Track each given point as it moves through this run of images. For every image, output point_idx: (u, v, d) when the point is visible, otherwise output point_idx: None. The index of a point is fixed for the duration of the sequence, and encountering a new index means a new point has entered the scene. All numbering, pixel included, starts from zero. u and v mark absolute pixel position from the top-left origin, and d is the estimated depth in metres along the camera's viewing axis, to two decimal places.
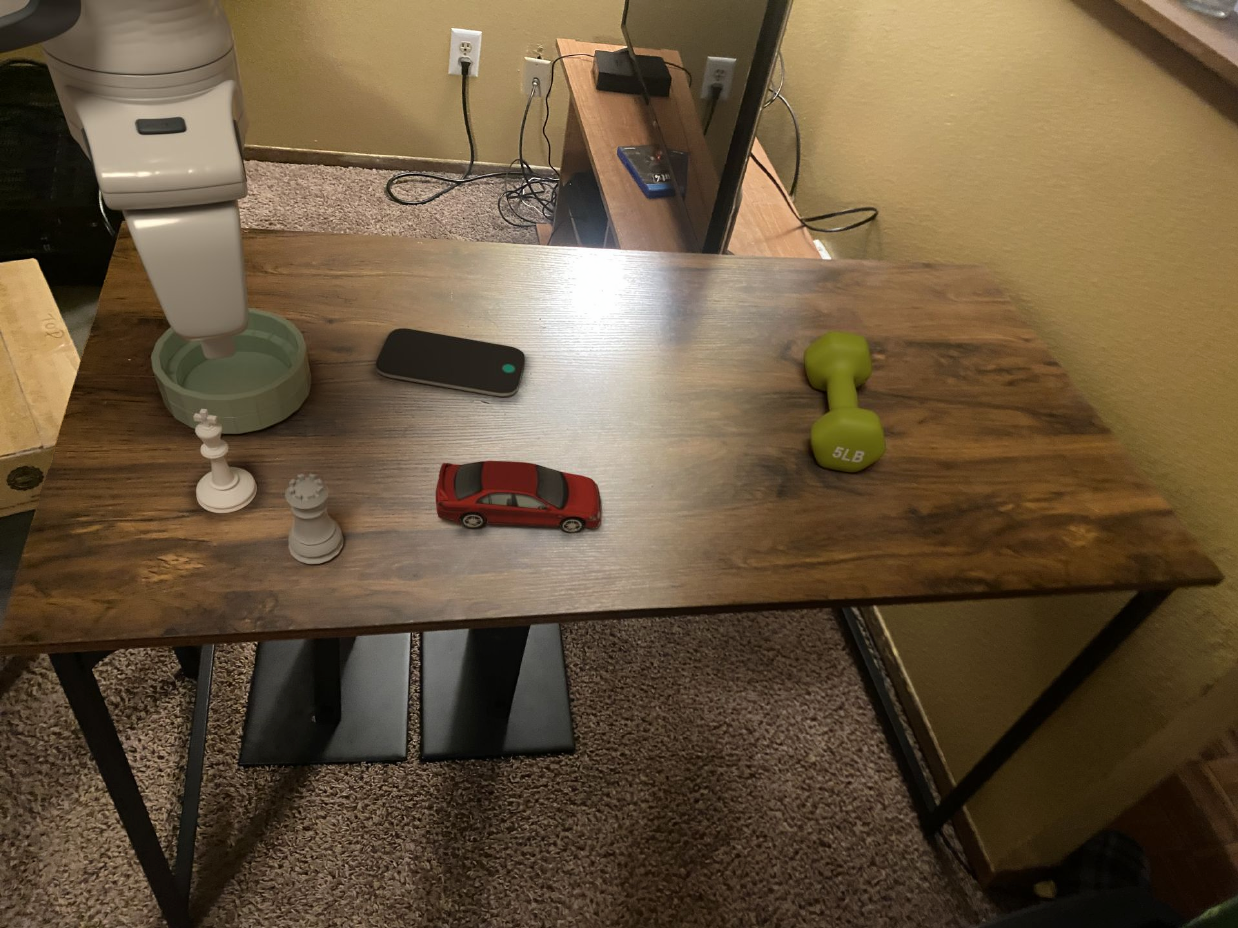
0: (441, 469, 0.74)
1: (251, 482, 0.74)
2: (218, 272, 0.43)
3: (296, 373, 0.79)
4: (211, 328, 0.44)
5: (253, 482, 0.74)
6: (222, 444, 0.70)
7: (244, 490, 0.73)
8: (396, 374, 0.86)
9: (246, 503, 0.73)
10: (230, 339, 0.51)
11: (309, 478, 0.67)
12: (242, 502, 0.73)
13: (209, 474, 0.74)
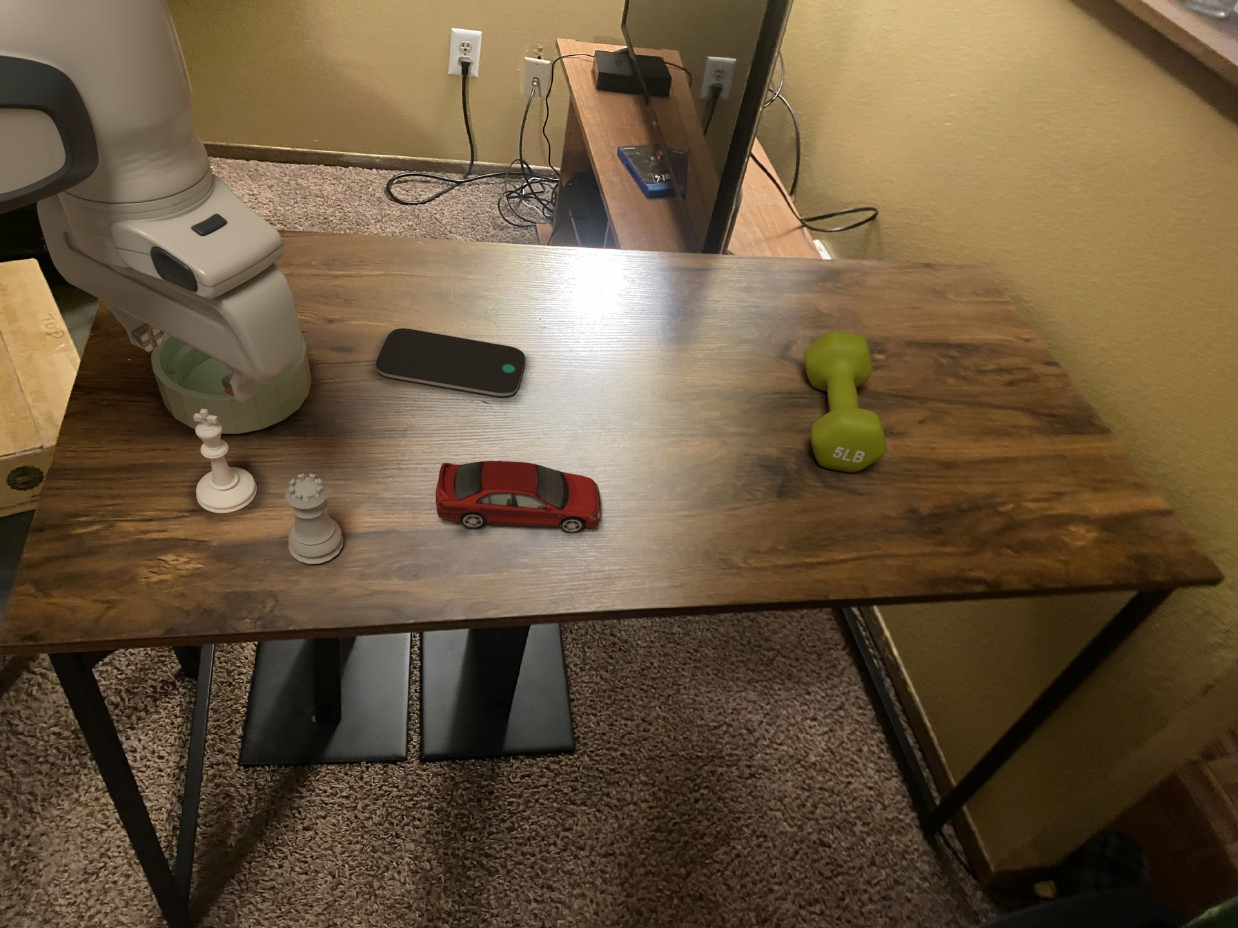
0: (441, 469, 0.74)
1: (251, 482, 0.74)
2: (285, 317, 0.56)
3: (296, 373, 0.79)
4: (285, 363, 0.57)
5: (253, 482, 0.74)
6: (222, 444, 0.70)
7: (244, 490, 0.73)
8: (396, 374, 0.86)
9: (246, 503, 0.73)
10: (254, 379, 0.62)
11: (309, 478, 0.67)
12: (242, 502, 0.73)
13: (209, 474, 0.74)
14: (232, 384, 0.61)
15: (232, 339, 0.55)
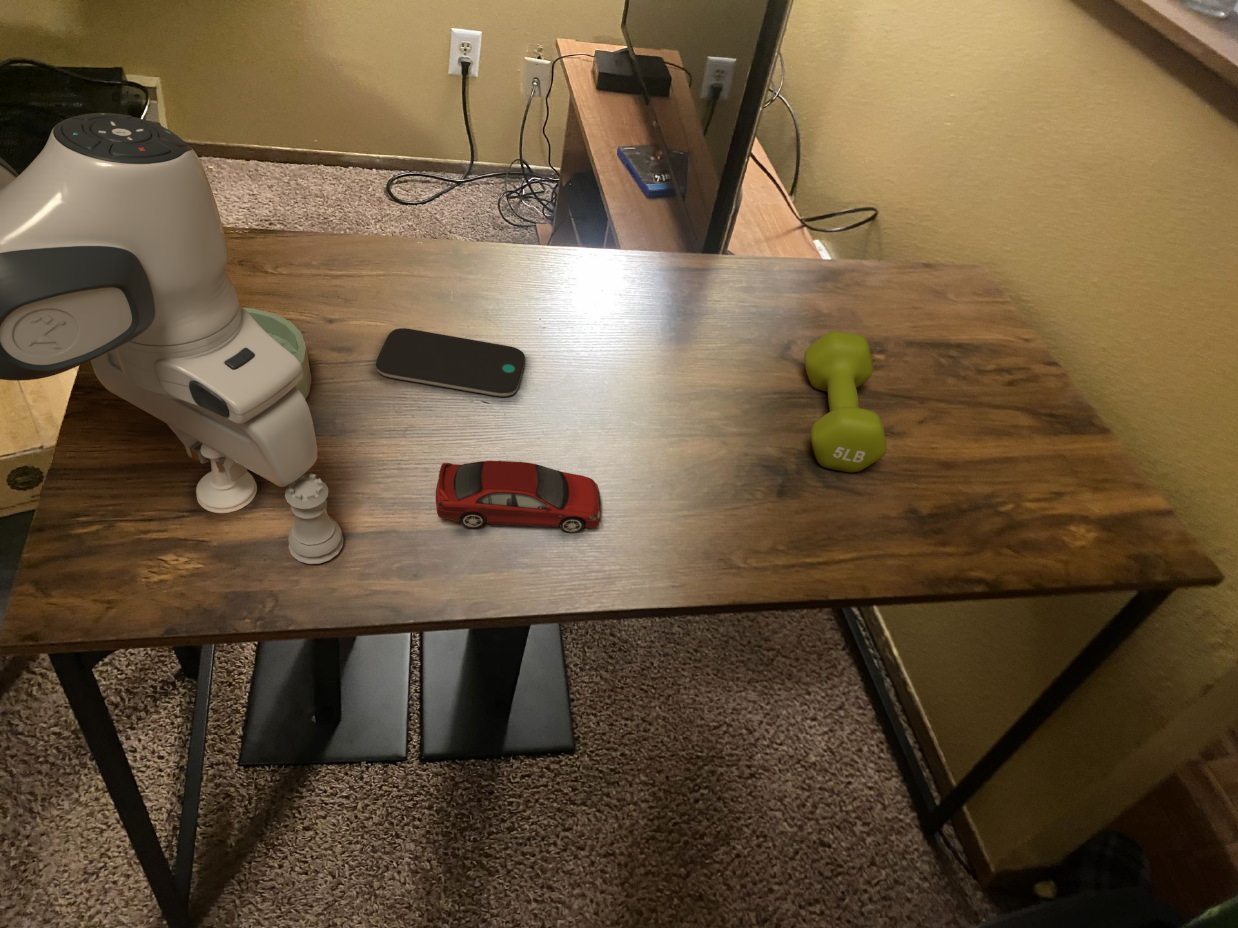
0: (441, 469, 0.74)
1: (251, 482, 0.74)
2: (303, 432, 0.63)
3: None
4: (302, 469, 0.65)
5: (253, 482, 0.74)
6: None
7: (244, 490, 0.73)
8: (396, 374, 0.86)
9: (246, 503, 0.73)
10: None
11: (309, 478, 0.67)
12: (242, 502, 0.73)
13: (209, 474, 0.74)
14: (225, 466, 0.69)
15: (257, 451, 0.63)
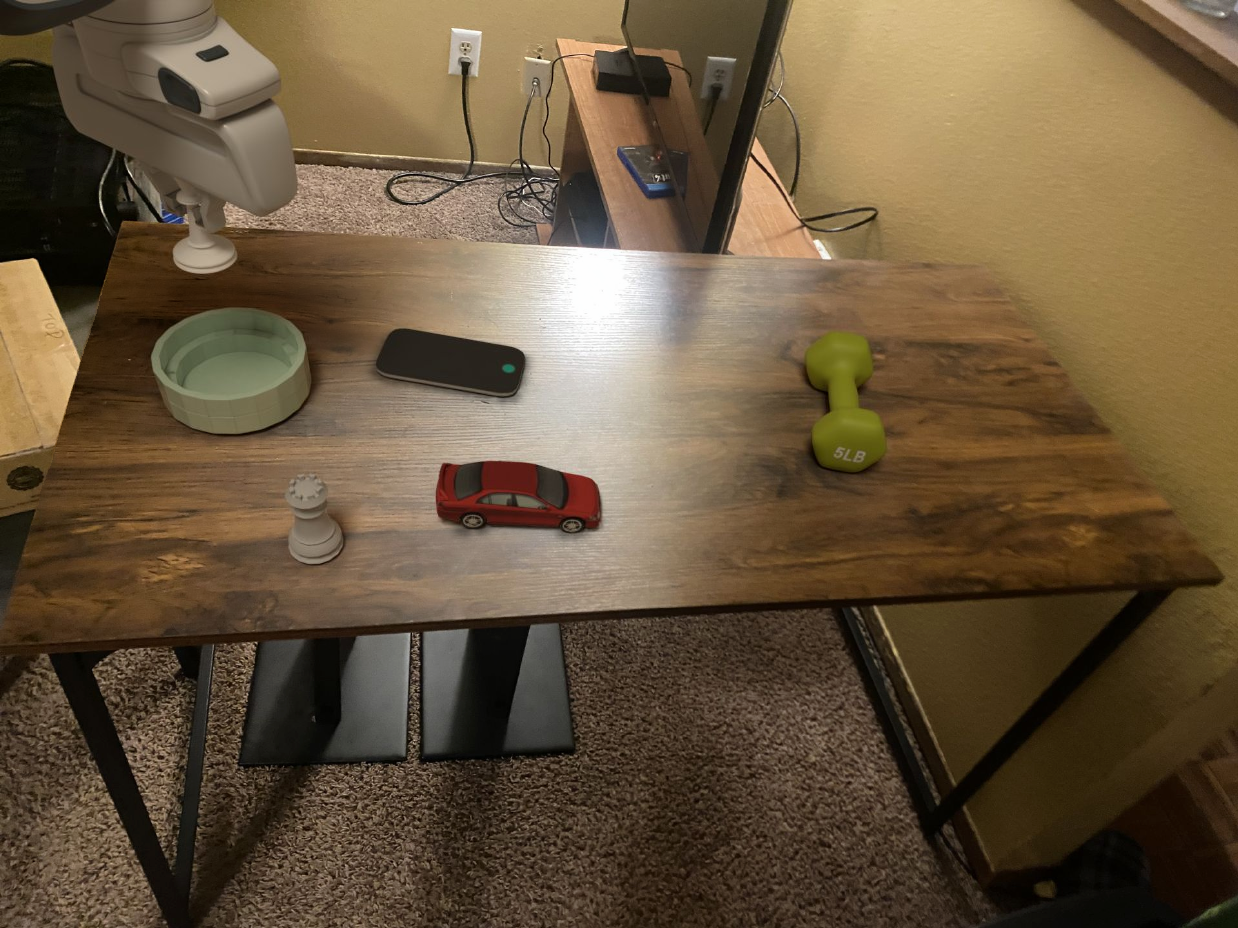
0: (441, 469, 0.74)
1: (231, 247, 0.71)
2: (282, 152, 0.60)
3: (296, 373, 0.79)
4: (281, 199, 0.61)
5: (233, 247, 0.71)
6: None
7: (223, 252, 0.70)
8: (396, 374, 0.86)
9: (225, 266, 0.70)
10: (223, 212, 0.67)
11: (309, 478, 0.67)
12: (221, 264, 0.69)
13: (187, 238, 0.70)
14: (202, 213, 0.65)
15: (232, 170, 0.59)
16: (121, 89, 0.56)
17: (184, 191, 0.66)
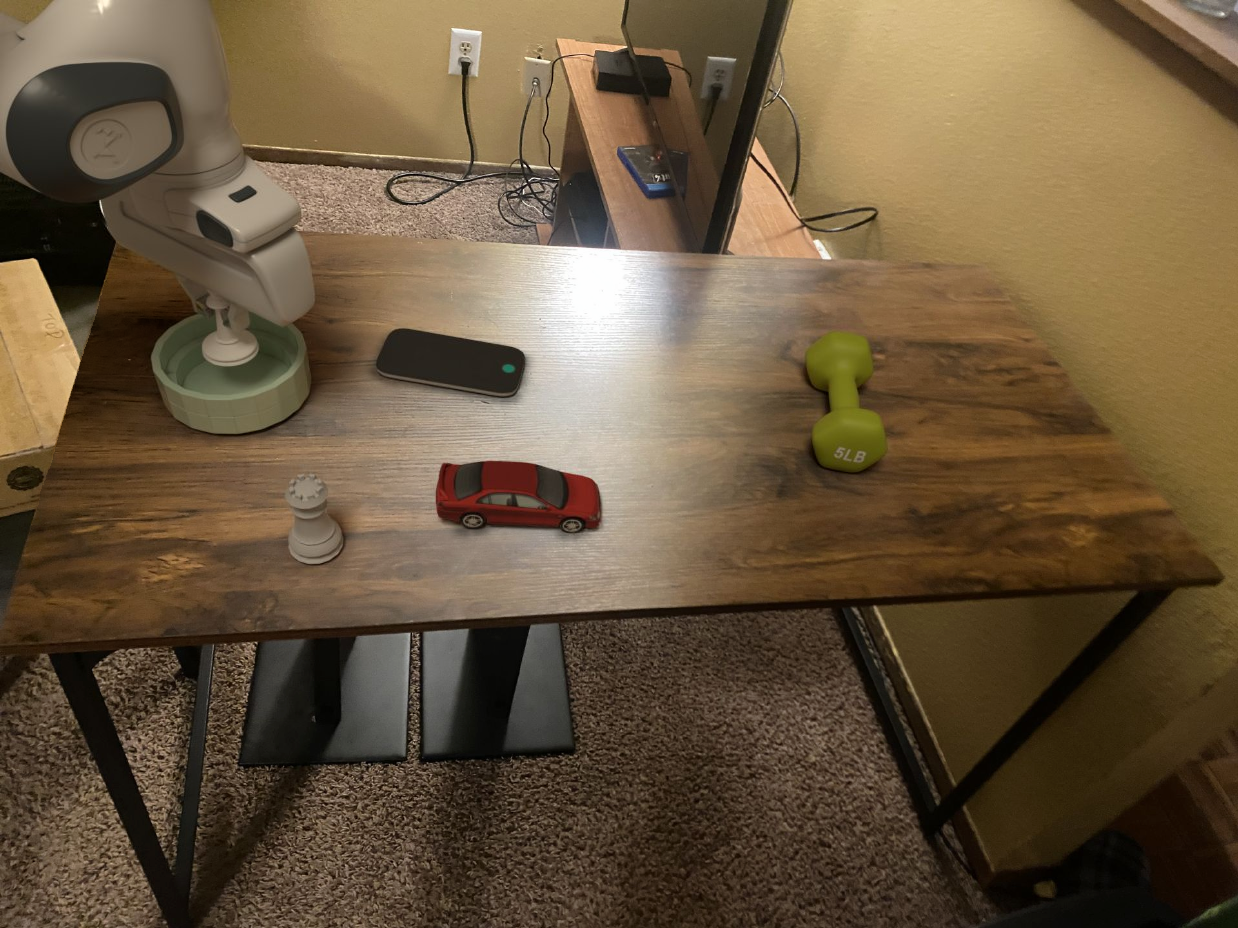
0: (441, 469, 0.74)
1: (253, 340, 0.79)
2: (301, 272, 0.68)
3: (296, 373, 0.79)
4: (301, 310, 0.70)
5: (255, 341, 0.79)
6: None
7: (246, 346, 0.78)
8: (396, 374, 0.86)
9: (249, 359, 0.78)
10: (247, 314, 0.75)
11: (309, 478, 0.67)
12: (245, 357, 0.78)
13: (214, 333, 0.79)
14: (229, 317, 0.74)
15: (259, 288, 0.68)
16: (163, 225, 0.64)
17: (213, 297, 0.74)
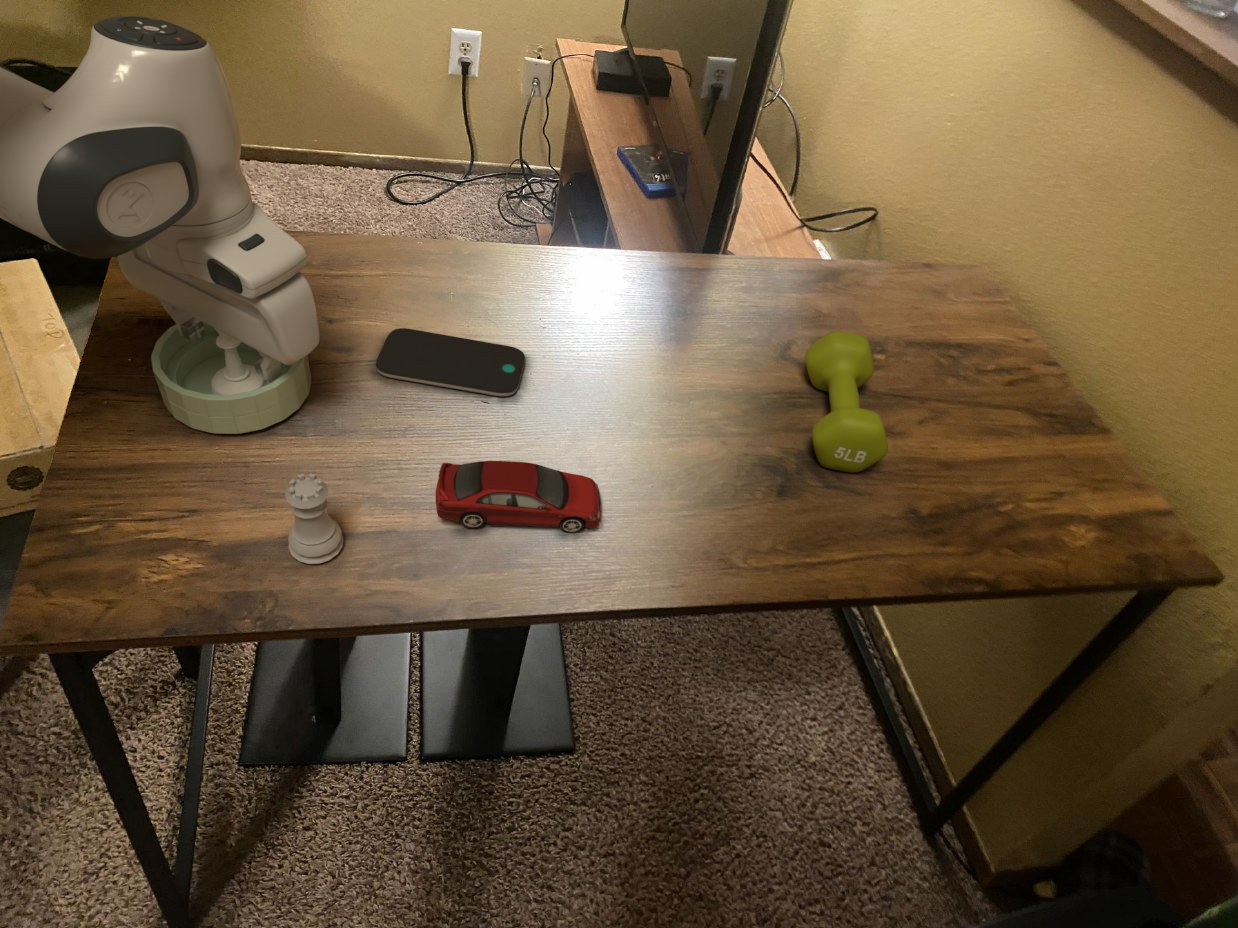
0: (441, 469, 0.74)
1: None
2: (307, 314, 0.71)
3: (296, 373, 0.79)
4: (306, 350, 0.73)
5: None
6: None
7: (254, 383, 0.81)
8: (396, 374, 0.86)
9: None
10: (279, 363, 0.78)
11: (309, 478, 0.67)
12: None
13: (223, 369, 0.82)
14: (262, 367, 0.76)
15: (266, 330, 0.71)
16: (175, 271, 0.67)
17: (223, 338, 0.77)
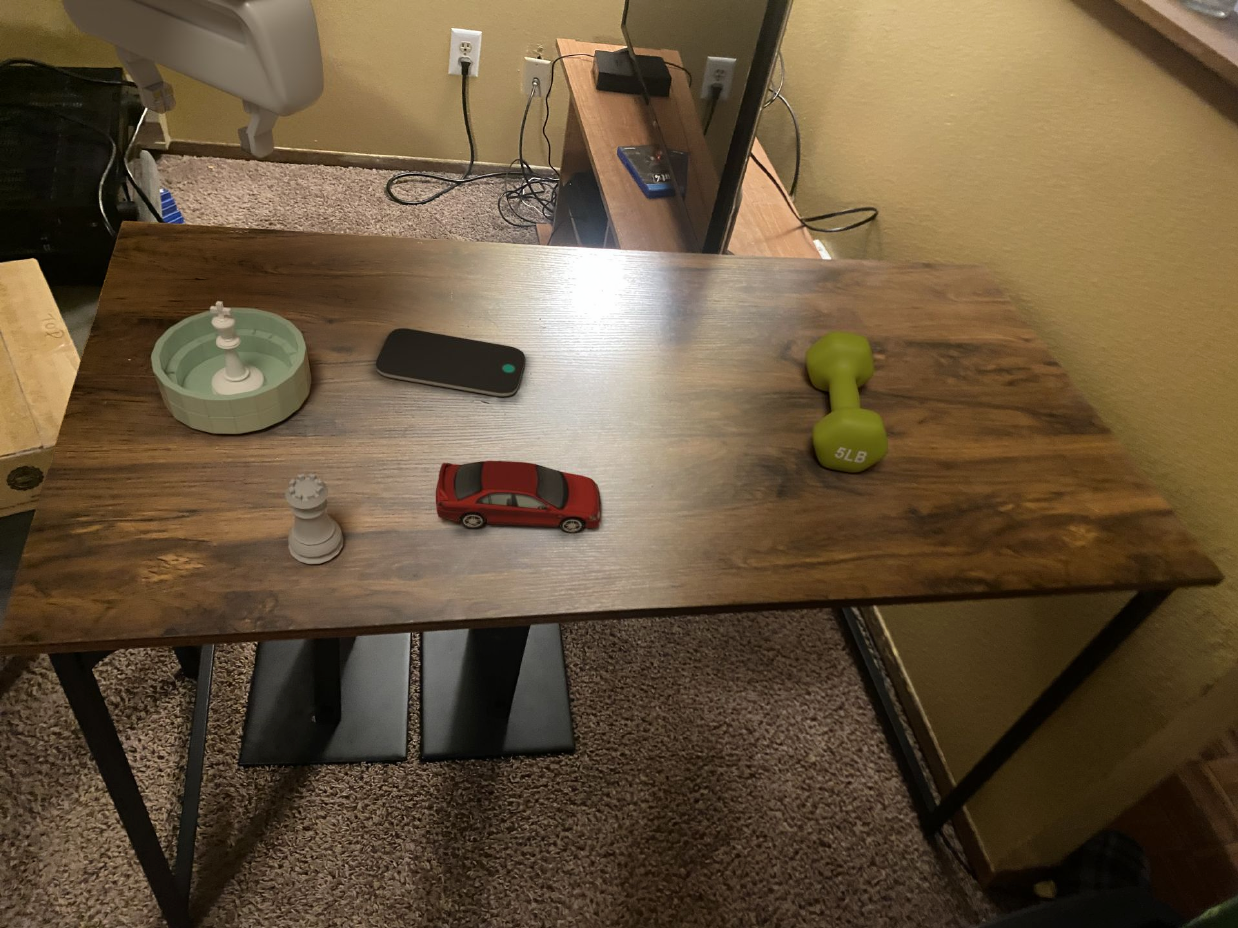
0: (441, 469, 0.74)
1: (261, 377, 0.82)
2: (307, 41, 0.54)
3: (296, 373, 0.79)
4: (306, 96, 0.55)
5: (262, 377, 0.82)
6: (235, 337, 0.78)
7: (254, 383, 0.81)
8: (396, 374, 0.86)
9: None
10: (271, 134, 0.60)
11: (309, 478, 0.67)
12: None
13: (223, 369, 0.82)
14: (249, 133, 0.59)
15: (253, 60, 0.53)
16: None
17: (223, 338, 0.77)
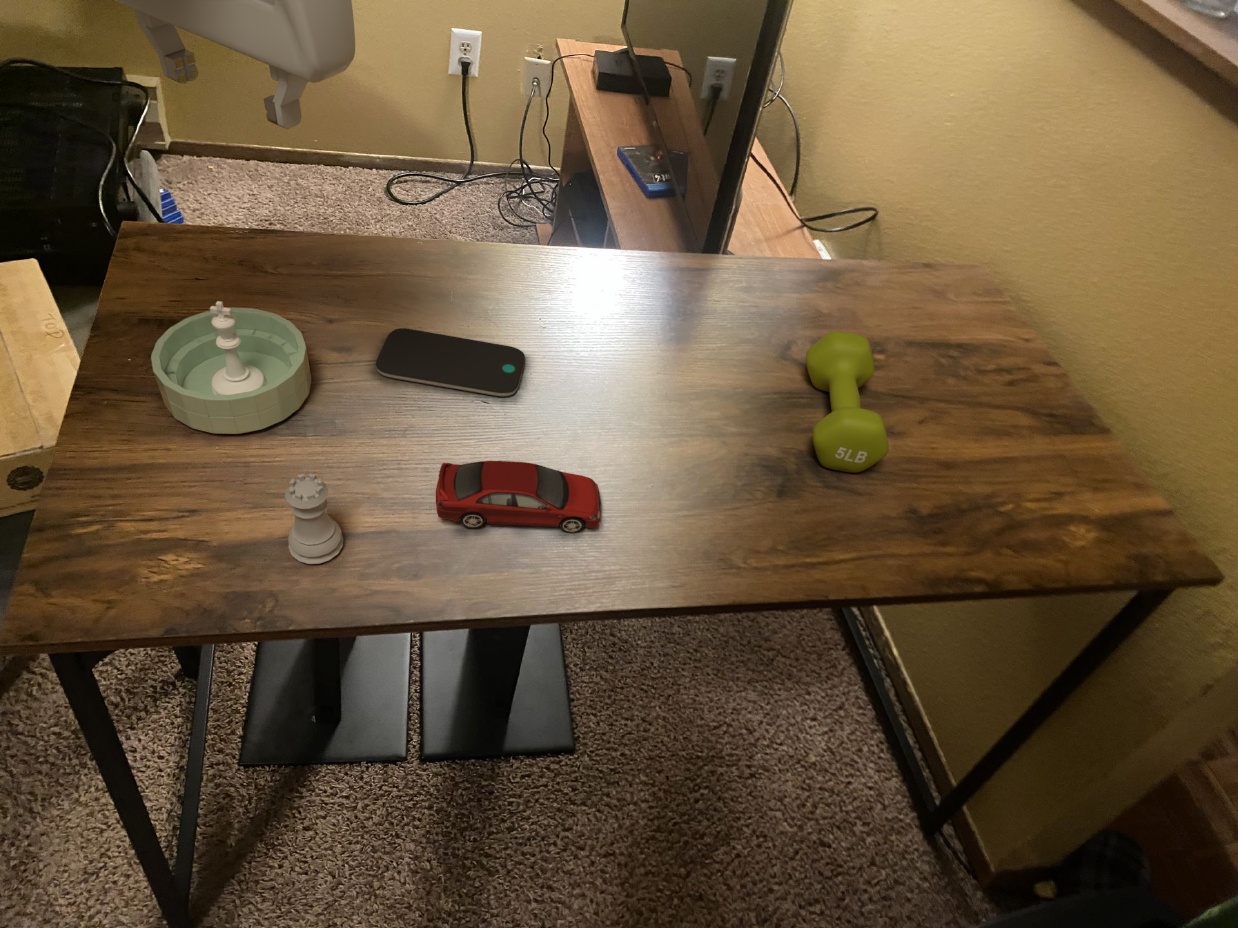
0: (441, 469, 0.74)
1: (261, 377, 0.82)
2: (339, 1, 0.51)
3: (296, 373, 0.79)
4: (337, 61, 0.52)
5: (262, 377, 0.82)
6: (235, 337, 0.78)
7: (254, 383, 0.81)
8: (396, 374, 0.86)
9: None
10: (298, 104, 0.57)
11: (309, 478, 0.67)
12: None
13: (223, 369, 0.82)
14: (276, 102, 0.56)
15: (282, 21, 0.50)
16: None
17: (223, 338, 0.77)
